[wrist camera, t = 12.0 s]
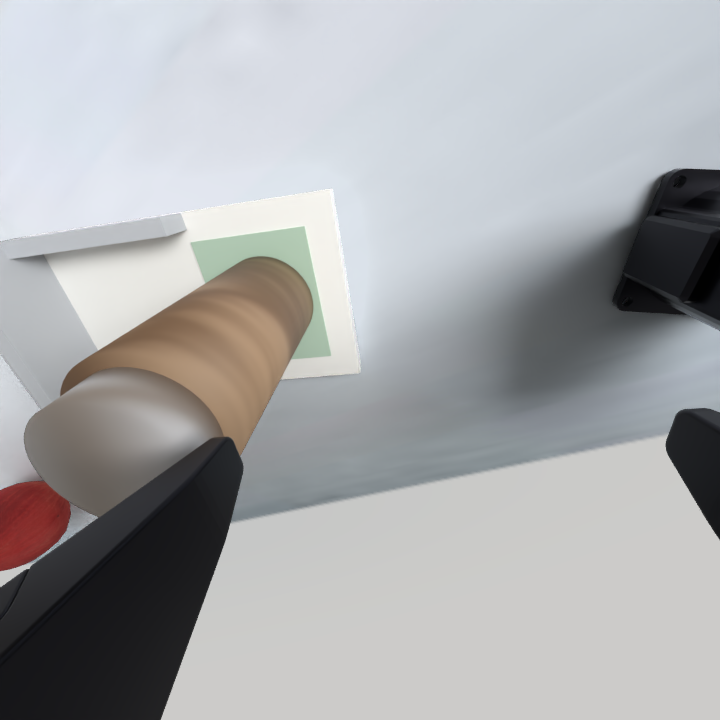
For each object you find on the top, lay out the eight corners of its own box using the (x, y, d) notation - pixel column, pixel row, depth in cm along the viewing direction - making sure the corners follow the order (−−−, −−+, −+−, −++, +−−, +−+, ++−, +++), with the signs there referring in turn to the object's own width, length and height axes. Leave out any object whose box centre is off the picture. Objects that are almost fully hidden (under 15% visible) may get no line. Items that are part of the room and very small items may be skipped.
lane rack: (332, 188, 17) (312, 196, 12) (361, 364, 22) (353, 415, 17) (33, 235, 19) (-72, 255, 15) (119, 385, 24) (58, 433, 20)
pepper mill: (311, 258, 17) (192, 395, 7) (314, 346, 20) (229, 544, 9) (215, 253, 18) (-38, 378, 7) (230, 341, 20) (57, 527, 10)
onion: (38, 501, 31) (-62, 596, 24) (15, 455, 28) (-107, 548, 22) (101, 510, 31) (19, 609, 24) (84, 465, 28) (-15, 563, 21)
